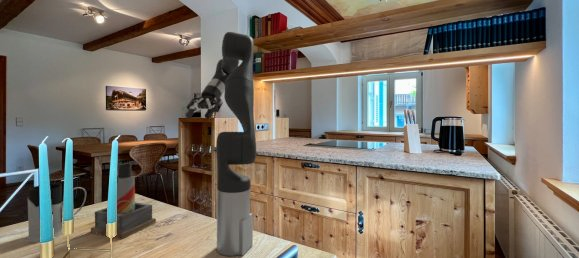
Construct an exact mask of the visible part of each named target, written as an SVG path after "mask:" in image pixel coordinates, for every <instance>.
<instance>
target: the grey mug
mask: <svg viewBox="0 0 579 258" xmlns="http://www.w3.org/2000/svg"><path fill="white" fill-rule="evenodd" d="M50 185H51V199H52V212H53V228H54V237H57V238H58V236H59V237H61V236H63V235H62V218H63V219H64V203H63V202H64V201H63V193H62V192H63V191H62V190H63V188H62V187H63V186H62V184H59V183H51V184H50ZM39 186H40V185H36V186H31V187H29V188H28V190H27V193H28V194H27V195H28V196H27V218H28V219H27V221H28V222H27V223H28V236H27V238H26V241H27V242H29V243H41V242H40V218H39ZM72 189H73V191H75V190H77V189H80V190H83V192H84V200H83V202H82V204H81V205H80V207H79V208H78V209H77V211H76V212H74V213H73V214H74V216H75V215H77V213H79V212H81V210H82V209H83V207H84V205H85V203H86V199H87V190H86V189H85V187H84V188H83V187H80V186H78V187H77V186H76V187H74V188H72ZM62 212H63V214H62ZM60 235H61V236H60Z"/></svg>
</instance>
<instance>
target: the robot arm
mask: <svg viewBox="0 0 579 258" xmlns="http://www.w3.org/2000/svg"><path fill="white" fill-rule="evenodd" d="M254 45H255V43H254V39H253V37H251V36H250V35H248V34H244V33H239V32H235V31H228V32H226V33H225V34H224V35H223V38H222V44H221V56H222V57H221V58H222V59H219V60H218V62H217V64H216V68H215V73H214V74H213V77H212V78H211V80H210V81H209V82H208V83H207V84H206V86H204V88H203V90H202V91H201V93H200V98H198V99H196V98H195V97H194V98H192V99H191V100H190V102H189V103H188V104H187V106H186V109H187V110H188V111H187V113H186V114H185V115H186V118H187V120H188V119H190V120H191V118H192V116H193V115H194V114H195V113H196V112H197V111H200V110H207V111H206V112H205V114H204V118H205V119H206V120H209V119H210V118H212V115H213V114H214V113H219V112H220V110H221V108H222V106H223V103H224V102H223V100H222V98H221V97H222V96H224V101H225V103H226V105H227V107H228V108H229V109H230V111H231V112H232V114H234V116H235V117H236V118H237V120H238V121H239V123H240V125H241V127H242V130H243V131H221V132H219V133H218V135H217V138H216V145H215V146H216V150H215V151H216V165H217V166H216V167H217V170H216V173H217V175H216V177H217V179H216V180H217V182H216V186H217V187H216V192H217V193H216V251H217V252H218V254H220V255H222V256H228V257H233V256H244V255H245V254H246V253H247V251H249V249H251V248H252V246H253V240H254V239H253V237H254V234H253V231H254V230H253V227H254V224H253V223H254V214H253V213H251V186H252V185H251V184H252V183H251V178H249V177H248V176H246V175H244V174H242V173H238V172H236V171H235V170H233V169H231V168H230V166H232V165H233V166H236V165H238V166H239V165H241V166H242V165H251V164H253V163H254V162H255V160H256V158H257V157H256V156H257V139H256V130H255V119H254V118H255V116H254V106H255V105H254V99H255V98H254V97H255V94H254V92H255V91H254V89H255V88H254V74H253V73H254V72H253V70H254V69H253V66H254V65H253V63H254ZM240 61H242V62H241V63H240ZM223 94H224V95H223ZM198 106H199V107H198Z"/></svg>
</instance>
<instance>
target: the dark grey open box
mask: <svg viewBox="0 0 579 258" xmlns="http://www.w3.org/2000/svg"><path fill="white" fill-rule="evenodd" d="M107 208H108V207H105V208H103V209H100V210H99V209H98V210H96V211H94V226H92V227H90V233H91V234H94V233H97V234H96V235H99V234H101V235H100V236H105V235H106V224H107ZM156 223H157V219H156V218H154V217H153V204H148V203H141V202H136V201H135V210H134V211H131V212H129V213H126V214H124V215H121V214H117V235H116V236H115V237H113V238H114V239H119V240H120V239H121V240H123V239H126V238H127V237H130V236H131V235H134V234H136V233H138V232H140V231H143V230H145V229H146V228H148V227H150V226H153V225H154V224H156ZM105 237H106V236H105Z"/></svg>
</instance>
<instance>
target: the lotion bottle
mask: <svg viewBox="0 0 579 258" xmlns="http://www.w3.org/2000/svg"><path fill="white" fill-rule="evenodd" d="M117 177H118V183H117V214H121V215H124V214H126V213H129V212H131V211H134V210H135V202H136V187H135V186H136V182H135V180H136V179H135V176H132V163H131V162H127V163H122V164H118V165H117Z"/></svg>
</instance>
